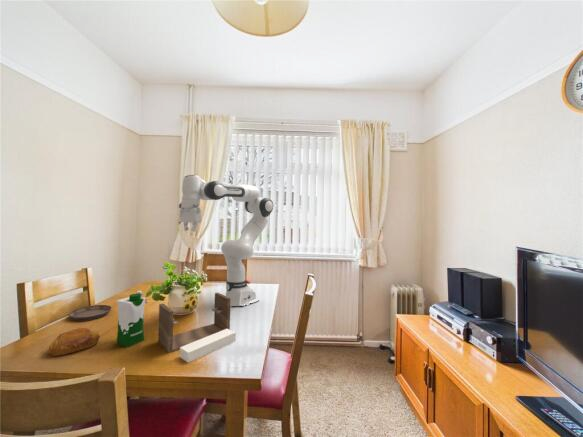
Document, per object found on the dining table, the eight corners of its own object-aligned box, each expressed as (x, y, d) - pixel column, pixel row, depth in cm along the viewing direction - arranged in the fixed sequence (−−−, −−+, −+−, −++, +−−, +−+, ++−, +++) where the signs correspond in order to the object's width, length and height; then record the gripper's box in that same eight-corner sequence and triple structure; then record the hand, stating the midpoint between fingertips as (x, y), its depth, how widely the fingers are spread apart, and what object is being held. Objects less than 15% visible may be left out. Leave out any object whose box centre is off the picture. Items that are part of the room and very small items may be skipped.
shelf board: (226, 337, 114) (226, 328, 114) (235, 341, 110) (235, 332, 110) (179, 357, 96) (179, 347, 96) (188, 363, 93) (188, 352, 93)
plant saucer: (119, 312, 140) (119, 307, 140) (84, 324, 123) (84, 318, 123) (96, 308, 145) (96, 303, 145) (60, 319, 128) (60, 313, 128)
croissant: (99, 352, 102) (103, 332, 103) (46, 361, 91) (51, 338, 92) (95, 339, 112) (98, 320, 113) (46, 345, 102) (51, 325, 102)
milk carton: (127, 348, 101) (129, 298, 101) (112, 344, 104) (113, 295, 105) (147, 339, 109) (148, 292, 109) (132, 335, 113) (133, 290, 113)
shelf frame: (216, 324, 126) (217, 292, 126) (229, 332, 118) (230, 298, 118) (158, 342, 107) (159, 304, 107) (168, 353, 99) (169, 311, 99)
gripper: (205, 204, 130) (204, 231, 130) (188, 205, 144) (188, 230, 144) (193, 204, 125) (192, 232, 125) (177, 205, 140) (176, 230, 140)
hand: (190, 231), depth 135 cm, fingers open, 8 cm apart
